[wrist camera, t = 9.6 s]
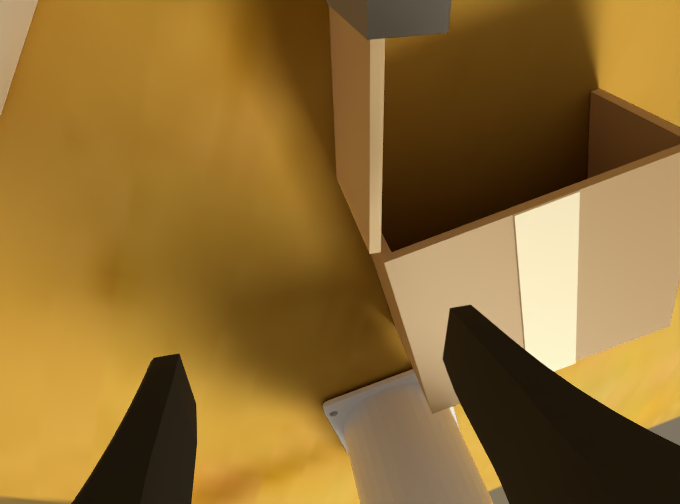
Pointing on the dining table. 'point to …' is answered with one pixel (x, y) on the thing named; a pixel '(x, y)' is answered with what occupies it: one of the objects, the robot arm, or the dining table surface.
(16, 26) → the medicine bottle
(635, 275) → the carton
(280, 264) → the dining table surface
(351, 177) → the side flap
